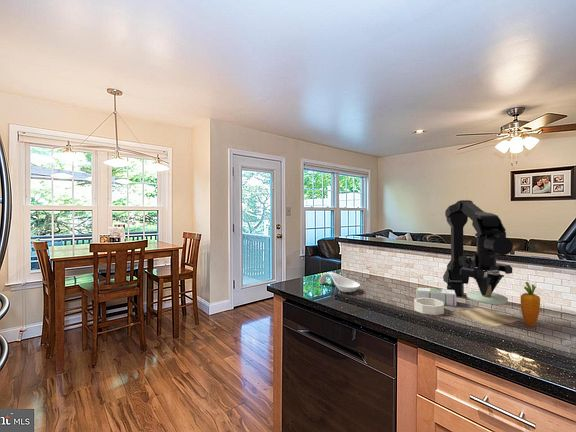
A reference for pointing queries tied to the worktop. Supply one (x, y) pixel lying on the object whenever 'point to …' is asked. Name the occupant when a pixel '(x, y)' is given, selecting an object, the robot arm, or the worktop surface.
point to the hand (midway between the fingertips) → (486, 294)
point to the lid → (487, 297)
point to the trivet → (487, 317)
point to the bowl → (429, 306)
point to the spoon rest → (341, 282)
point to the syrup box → (438, 295)
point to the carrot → (530, 305)
